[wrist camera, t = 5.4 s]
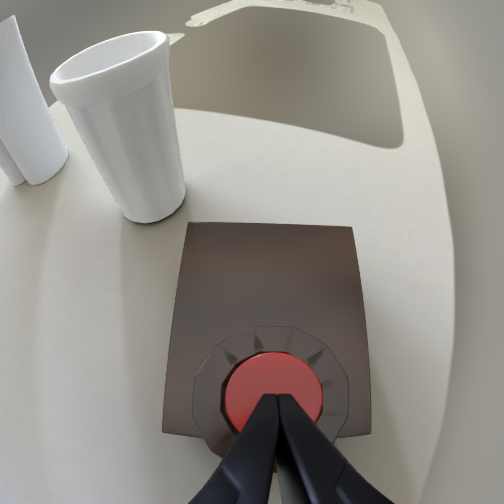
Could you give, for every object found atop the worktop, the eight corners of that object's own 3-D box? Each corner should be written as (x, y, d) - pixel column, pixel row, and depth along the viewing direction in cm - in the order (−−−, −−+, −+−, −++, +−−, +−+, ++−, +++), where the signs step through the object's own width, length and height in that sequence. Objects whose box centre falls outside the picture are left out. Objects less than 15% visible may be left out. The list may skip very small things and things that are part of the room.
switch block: (341, 447, 15) (386, 461, 9) (183, 445, 15) (148, 460, 9) (333, 266, 22) (360, 208, 16) (200, 262, 22) (182, 202, 16)
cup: (96, 219, 24) (26, 88, 12) (144, 160, 28) (108, 34, 16) (166, 248, 23) (104, 83, 11) (212, 178, 27) (194, 28, 14)
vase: (78, 147, 30) (26, 7, 13) (45, 190, 27) (-30, 43, 10) (29, 147, 32) (-20, 37, 15) (0, 183, 28) (-63, 72, 11)
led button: (313, 438, 10) (322, 442, 9) (226, 438, 10) (222, 442, 9) (313, 359, 12) (322, 351, 11) (230, 358, 12) (227, 350, 11)
